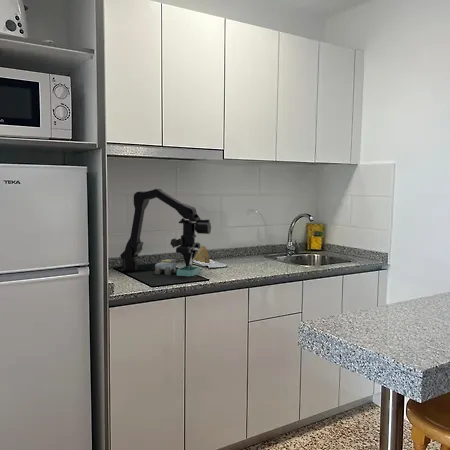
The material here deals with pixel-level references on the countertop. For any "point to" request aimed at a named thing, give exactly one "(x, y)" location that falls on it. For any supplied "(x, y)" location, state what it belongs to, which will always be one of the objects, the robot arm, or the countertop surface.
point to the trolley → (165, 268)
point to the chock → (169, 260)
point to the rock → (202, 255)
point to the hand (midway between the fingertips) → (188, 265)
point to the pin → (189, 265)
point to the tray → (188, 271)
